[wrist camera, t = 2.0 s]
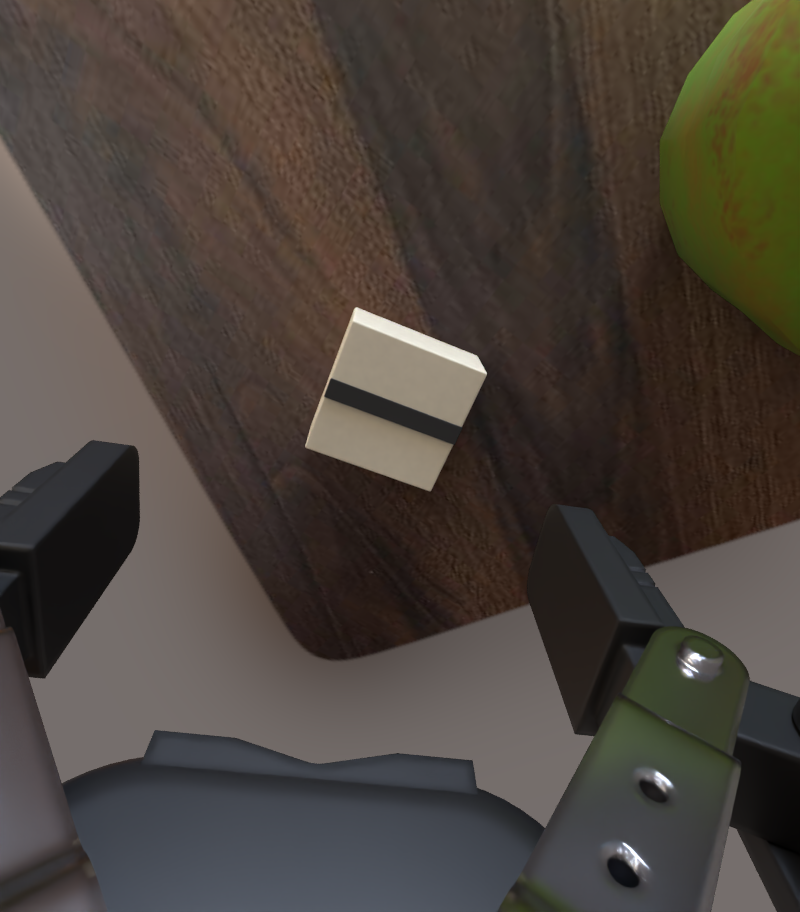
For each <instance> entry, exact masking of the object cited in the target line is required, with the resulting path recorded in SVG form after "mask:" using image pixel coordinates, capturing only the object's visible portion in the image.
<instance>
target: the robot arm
mask: <svg viewBox="0 0 800 912" xmlns="http://www.w3.org/2000/svg"><path fill="white" fill-rule="evenodd" d="M139 508H140V502H139V456H138V451H137V449H136V448H135V446H131V445H123V444H115V443H109V442H101V441H94V440H93V441H90V442H88V443H87V444H86V445H85V446H84V447H83V448H82V449H81V450H79V451H78V452H77V453H76V454H75V455H74V456H73V457H72V458H70V459H69V460H68V461H67V462H66V463H63V462H55V463H53V464H50V465H48V466H46V467H43V468H41V469H38V470H36V471H33V472H31V473H30V474H28V475H27V476H26V477H24V478H23V479H22V480H21V481H20V482H18V483H17V484H16V485H15V486H14V487H12V491H10V490H9V491H7V492H6V493H5V494H4V495H3V496H1V497H0V912H711V910H712V904H713V900H714V895H715V890H716V886H717V881H718V876H719V872H720V867H721V862H722V857H723V853H724V848H725V843H726V838H727V834H728V829H729V826H731V827H733V828H736V829H737V831H738V833H739V835H740V837H741V839H742V841H743V843H744V845H745V847H746V849H747V852H748V853H749V856H750V858H751V860H752V862H753V864H754V866H755V868H756V870H757V872H758V874H759V876H760V878H761V880H762V882H763V884H764V886H765V888H766V890H767V892H768V894H769V896H770V898H771V901H772V903H773V905H774V907H775V908H776V911H777V912H800V697H796V696H794V695H791V694H788V693H784V692H781V691H779V690H776V689H772V688H769V687H767V686H764V685H761V684H758V683H755V682H752V681H750V678H749V674H748V671H747V669H746V667H745V666H744V664H743V663H742V662H741V660H740V659H739V658H738V657H737V656H736V655H735V654H734V653H733V652H732V651H731V650H729V649H728V648H727V647H726V646H724V645H723V644H721V643H720V642H718V641H716V640H715V639H713V638H711V637H709V636H707V635H705V634H703V633H700V632H698V631H695V630H692V629H688V628H685V627H684V626H683V624H682V623H681V621H680V620H679V618H678V617H677V615H676V614H675V612H674V611H673V609H672V608H671V607H670V605H669V604H668V602H667V600H666V599H665V597H664V596H663V595H662V593H661V592H660V590H659V589H658V587H655V583H654V581H653V580H652V578H651V577H650V575H649V574H648V573H645V570H646V569H645V568H644V566H643V565H642V563H641V562H640V560H639V559H638V557H637V556H636V554H635V553H634V552H633V551H632V550H630V549H629V548H628V547H627V546H625V545H624V544H623V543H622V542H620V541H619V540H618V539H617V538H615V537H614V536H608V534H607V533H606V531H605V530H604V528H603V526H602V525H601V523H600V522H599V520H598V519H597V517H596V515H595V514H594V512H593V511H592V510H591V509H586V508H579V507H571V506H564V505H557V504H553V505H551V506H550V508H549V509H548V511H547V513H546V516H545V519H544V523H543V526H542V529H541V532H540V536H539V539H538V542H537V546H536V549H535V552H534V555H533V559H532V562H531V565H530V569H529V573H528V581H527V593H528V599H529V603H530V606H531V608H532V611H533V614H534V617H535V620H536V623H537V626H538V629H539V631H540V634H541V637H542V640H543V643H544V646H545V648H546V652H547V654H548V657H549V660H550V663H551V666H552V669H553V672H554V675H555V678H556V681H557V683H558V686H559V689H560V692H561V695H562V698H563V701H564V704H565V707H566V709H567V712H568V715H569V718H570V721H571V724H572V727H573V730H574V733H575V734H579V735H589V736H594V738H593V740H592V742H591V744H590V746H589V748H588V749H587V751H586V753H585V755H584V757H583V759H582V761H581V762H580V765H579V766H578V768H577V770H576V772H575V774H574V776H573V777H572V779H571V781H570V783H569V785H568V787H567V789H566V790H565V792H564V794H563V796H562V798H561V800H560V802H559V804H558V805H557V807H556V809H555V811H554V813H553V815H552V817H551V819H550V820H549V822H548V824H547V826H546V828H544V827H543V826H542V825H541V824H540V823H538V822H537V821H536V820H534V819H533V818H531V817H530V816H529V815H528V814H526V813H525V812H524V811H522V810H521V809H519V808H517V807H515V806H514V805H512V804H510V803H509V802H507V801H506V800H504V799H502V798H500V797H497V796H495V795H493V794H491V793H489V792H486V791H484V790H481V789H479V788H477V786H476V780H475V773H474V767H473V761H472V760H461V759H451V758H440V757H430V756H419V755H409V754H399V753H397V754H389V755H382V756H375V757H367V758H360V759H354V760H347V761H339V762H332V763H325V764H314V763H309V762H306V761H302V760H300V759H297V758H294V757H290V756H288V755H285V754H282V753H279V752H276V751H273V750H270V749H267V748H264V747H261V746H258V745H255V744H252V743H249V742H246V741H243V740H240V739H237V738H231V737H221V736H210V735H200V734H189V733H178V732H168V731H158V730H155V731H154V733H153V736H152V738H151V741H150V743H149V746H148V748H147V750H146V753H145V755H144V757H142V758H136V759H130V760H125V761H122V762H118V763H113V764H109V765H106V766H103V767H100V768H97V769H94V770H91V771H88V772H86V773H84V774H81V775H79V776H77V777H75V778H72V779H70V780H68V781H66V782H64V783H61V780H60V777H59V773H58V770H57V767H56V764H55V761H54V758H53V755H52V751H51V748H50V745H49V742H48V738H47V735H46V732H45V729H44V725H43V722H42V719H41V716H40V712H39V709H38V706H37V703H36V700H35V696H34V693H33V690H32V687H31V684H30V680H29V677H34V678H45V677H46V676H47V674H48V673H49V672H50V670H51V669H52V667H53V666H54V664H55V663H56V661H57V659H58V658H59V657H60V655H61V654H62V652H63V651H64V649H65V648H66V646H67V645H68V644H69V642H70V641H71V639H72V638H73V636H74V635H75V633H76V632H77V630H78V629H79V627H80V626H81V624H82V623H83V621H84V620H85V619H86V617H87V616H88V614H89V613H90V611H91V610H92V608H93V607H94V605H95V604H96V602H97V601H98V599H99V598H100V597H101V595H102V594H103V592H104V591H105V589H106V588H107V586H108V585H109V583H110V581H111V580H112V579H113V577H114V576H115V574H116V573H117V572H118V570H119V569H120V567H121V566H122V564H123V563H124V561H125V559H126V558H127V557H128V555H129V554H130V552H131V551H132V549H133V546H134V544H135V542H136V538H137V535H138V529H139V522H140V509H139Z"/></svg>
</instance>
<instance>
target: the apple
mask: <svg viewBox="0 0 800 912" xmlns="http://www.w3.org/2000/svg"><path fill="white" fill-rule="evenodd" d="M660 206H661V208H662V211H663V214H664V217H665V220H666V223H667V226H668V229H669V231H670V234H671V237H672V240H673V243H674V246H675V249H676V252H677V254H678V255H679V257H680V258H681V259H682V260H683V261H684V262H685V263H686V264H687V265H688V266H689V267H690V268H691V269H692V270H693V271H694V272H695V273H696V274H697V275H698V276H699V277H700V278H701V279H702V280H703V281H704V283H705V284H706V285H707V286H708V287H709V288H710V289H711V290H713V291H714V292H715V293H717V294H718V295H719V296H721V297H722V298H724V299H725V300H726V301H728V302H729V303H731V304H732V305H733V306H735V307H736V308H737V309H739V310H740V311H742V312H743V313H744V314H745V315H746V316H747V317H748V318H749V319H750V320H752V321H753V322H754V323H755V324H756V325H757V326H758V327H759V328H761V329H762V330H763V331H764V332H765V333H766V334H767V335H768V336H769V337H771V338H772V339H773V340H774V341H775V342H776V343H777V344H779V345H781V346H783V347H784V348H786V349H788V350H790V351H791V352H793V353H795V354H797V355H799V356H800V0H752V1H751V2H750V3H748V4H747V5H746V6H744V7H743V8H742V9H740V10H739V11H738V12H736V13H735V14H734V15H733V16H732V17H731V19H730V20H729V21H728V23H727V24H726V25H725V27H724V28H723V29H722V31H721V32H720V33H719V35H718V36H717V37H716V38H715V40H714V41H713V42H712V44H711V45H710V46H709V48H708V49H707V50H706V52H705V53H704V54H703V56H702V57H701V58H700V60H699V61H698V62H697V64H696V65H695V66H694V68H693V69H692V70H691V72H690V73H689V74H688V76H687V78H686V81H685V83H684V85H683V88H682V90H681V92H680V95H679V97H678V99H677V102H676V104H675V106H674V109H673V111H672V113H671V116H670V118H669V120H668V123H667V125H666V128H665V130H664V132H663V135H662V137H661V139H660Z"/></svg>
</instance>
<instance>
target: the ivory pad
mask: <svg viewBox="0 0 800 912" xmlns="http://www.w3.org/2000/svg"><path fill="white" fill-rule="evenodd" d="M486 376H487V373H486V371H485V369H484V367H483V365H482V363H481V362H480V360H479V358H478V356H476V355H474V354H471V353H469V352H466V351H464V350H461V349H459V348H456V347H454V346H451V345H449V344H446V343H444V342H441V341H439V340H436V339H434V338H431V337H429V336H426V335H424V334H421V333H419V332H416V331H414V330H411V329H409V328H407V327H404V326H402V325H399V324H397V323H394V322H392V321H389V320H387V319H384V318H382V317H379V316H377V315H374V314H372V313H369V312H367V311H364V310H362V309H359V308H355V309H354V311H353V314H352V317H351V319H350V322H349V325H348V328H347V330H346V333H345V336H344V338H343V341H342V344H341V346H340V349H339V352H338V354H337V357H336V360H335V362H334V365H333V368H332V370H331V373H330V376H329V379H328V381H327V384H326V387H325V389H324V392H323V395H322V397H321V400H320V403H319V405H318V408H317V411H316V413H315V416H314V419H313V422H312V424H311V428H310V431H309V435H308V438H307V442H306V445H305V447H306V448H308V449H310V450H313V451H316V452H319V453H322V454H325V455H327V456H330V457H333V458H336V459H339V460H342V461H345V462H347V463H350V464H353V465H356V466H359V467H362V468H364V469H367V470H370V471H373V472H376V473H379V474H382V475H384V476H387V477H390V478H393V479H396V480H399V481H401V482H404V483H407V484H410V485H413V486H416V487H419V488H421V489H424V490H427V491H431V490H432V488H433V486H434V484H435V482H436V480H437V478H438V476H439V473H440V471H441V469H442V467H443V465H444V463H445V461H446V459H447V457H448V455H449V453H450V451H451V449H452V446H453V445H455V443H456V441H457V439H458V436H459V434H460V432H461V430H462V426H463V424H464V421H465V419H466V417H467V415H468V413H469V411H470V409H471V407H472V405H473V403H474V401H475V399H476V397H477V394H478V392H479V390H480V388H481V386H482V384H483V382H484V380H485V378H486Z"/></svg>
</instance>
